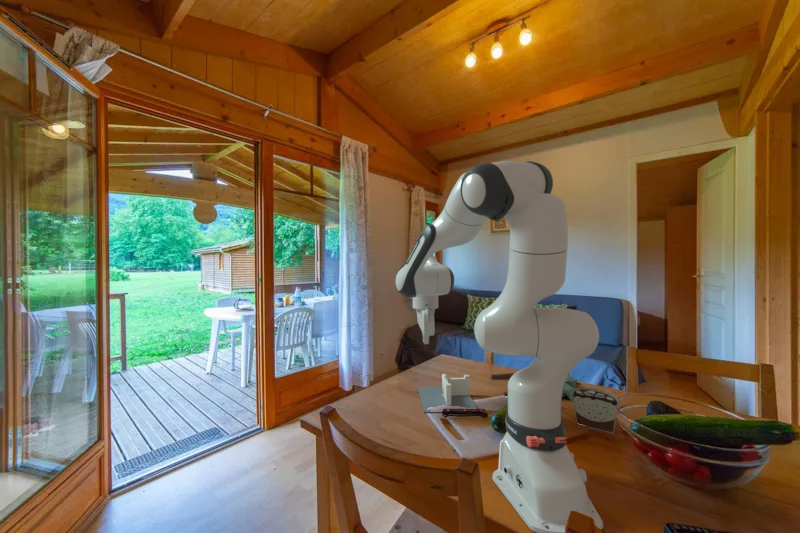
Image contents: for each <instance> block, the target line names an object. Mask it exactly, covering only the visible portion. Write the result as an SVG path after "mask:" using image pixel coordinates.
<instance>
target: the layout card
mask: <svg viewBox="0 0 800 533" xmlns="http://www.w3.org/2000/svg"><path fill="white" fill-rule="evenodd" d="M417 389H418V393H419V397H420V402H421V407H422V409H423V414H427V413H426V412H430V411H431V410H428V409H427V408H429V407H437V406H442V405H446V401H445V398H444V395H442V385H441V386H437V385H436V386H418V388H417ZM451 406H460V407H465V408H466V407H467V408H478V407H477V405H476V403H475V402H474V400H473V398H472V397H471V395H470V394H469V395H456V396H451ZM427 410H428V411H427Z"/></svg>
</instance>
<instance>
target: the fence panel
mask: <svg viewBox="0 0 800 533" xmlns="http://www.w3.org/2000/svg"><path fill="white" fill-rule="evenodd" d="M441 386H442V395H444V398H445V401H446V406H451V384H450V383H448V374H447V373H442V375H441Z"/></svg>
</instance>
